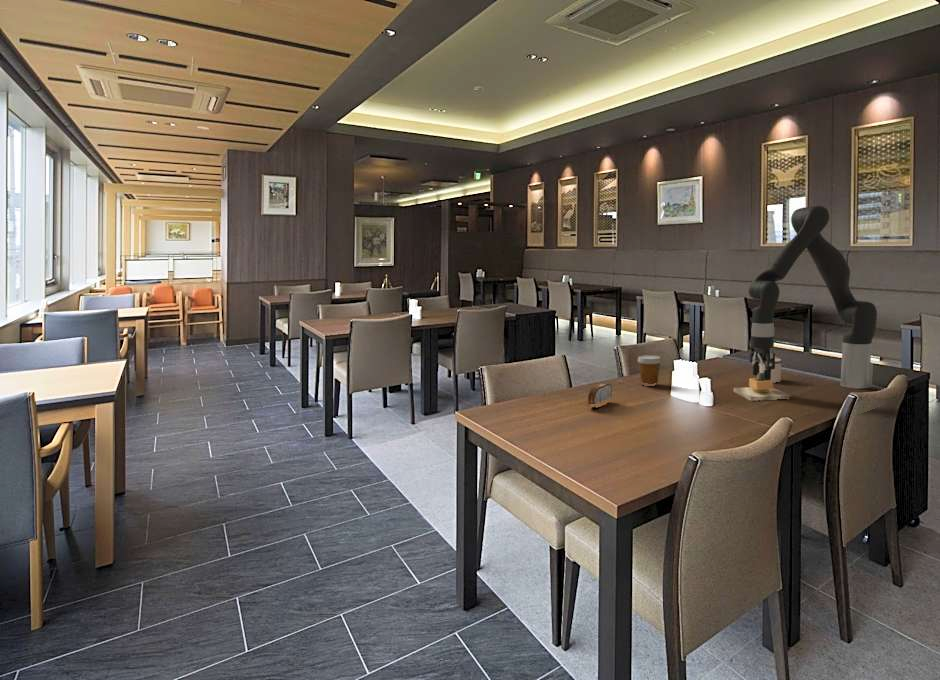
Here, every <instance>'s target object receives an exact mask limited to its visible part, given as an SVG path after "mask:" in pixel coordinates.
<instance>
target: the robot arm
mask: <svg viewBox="0 0 940 680" xmlns="http://www.w3.org/2000/svg"><path fill="white" fill-rule="evenodd" d="M790 217H791V218H790V221H791V226H792V229H793V230H794V232H795V233H796V235H794V237H793V238H791V240H789V241H788V242H787V243H786V244H785V245H784V246H782V247H781V248H780V249H779V250H778V251H777V252H776V253H775V254H774V256H773V257H772V259H771V260H770V261H769V263H768V265H766V266H767V267H766V268H765V269H764V270H763V271H761V272H760V273H759V274H758V275H757V277H755V278H754V279H753V281H752V282H751V283H750V285H749V289H748V294H749V296H750V298H751V299H754V300H756V301H757V300H758V301H759V300H760V304H759V306H756V307H754V308H753V310H752V323H751V330H750V331H751V332H750V333H751V339H750V346H751V347H750V349H749V350H750V351H749V363H750V364H751V365H752V375H753V376H757V375H758V373H759V369H760V366H759V364H760V362H761V364H762V365H763V367H764V380H770V379H771V370H772V369H775V357H776V353H775V352H771V351H770V350H771V349H773V348H775V347H774V345H775V324H774V322H775V310H776V307H777V304H778V300H779V297H780V288H779V285H778V284H777V282H778V281H782V280H783V279H785V278H786V276H787V274H788V273H789V272H790V270H791V269H792V267H794V264H795V263H796V261H797V260H798V259H799V257H800V256H801V255H802V253H803V252H804V251H805V250H806V249H807V252H808V253H809V255H810V257H811V258H812V260H813V262H814V264H815V266H816V269H817V271H818V272H819V275H820V276H821V278H822V280H823V282H824V283H825V285H826V287H827V290H828V292H829V294H830V296H831V298H832V301H833V303H834V305H835V308H836V311H837V313H838V316H839V318H840V320H841V321H842V322H844V323H845V324H847V325H852V329H851V331H850V332H849V333H845V334H843V336H842V347H841V348H842V351H841V365H840V366H841V368H840V370H841V371H840V384H839V385H840V386H841V387H843V388H846V389H847V388H848V389H854V390H855V389H856V390H858V389H861V390H863V389H869V388H872V386H873V371H874V363H873V362H871V360H872V359H871V358H872V344H873V338H874V336H875V333H876V329H877V328H876V327H877V318H878V312H877V307H876V305H875V304H873V303H872V302H870V301H863V300H857V299H855V296H854V295H853V293H852V291H851V289H850V278H851V270H850V266H849V264H848V262H847V261H846V258H845V256H844V255H843V253H842V252H841V251H839V249H838V248H836V247H835V246H834V245H833V244H831V243H830V242H829V241H827V239H825V237H824V236H822V233H821V232H822V231H823V230H824V229H825V227H826V226H827V225H828V223H829V221H830V213H829V210H828V208H826V207H825V206H822V205H812V206H806V207H801V208H797V209H795V210H794V211H793V213H792V214H791V216H790ZM771 363H772V365H771ZM766 365H767V367H766Z"/></svg>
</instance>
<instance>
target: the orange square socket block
mask: <svg viewBox="0 0 940 680" xmlns="http://www.w3.org/2000/svg"><path fill="white" fill-rule="evenodd" d="M757 380H758V378H755V377H753V378H752V377H751V378H749V379H748V386H749V387H752V388H754V389H756V390H767V389H773V388H774V383H773V381H771V380H765V381H757Z"/></svg>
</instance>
